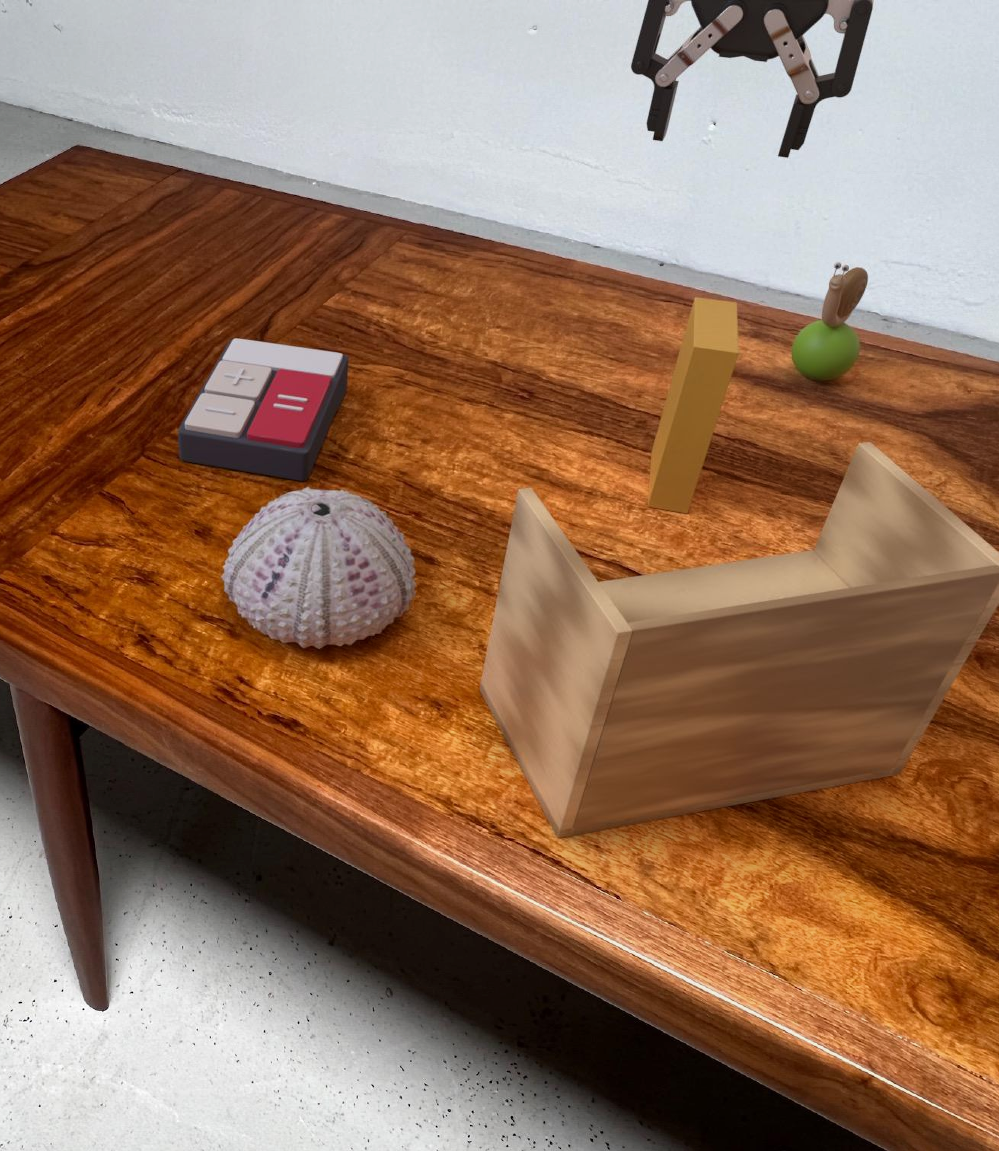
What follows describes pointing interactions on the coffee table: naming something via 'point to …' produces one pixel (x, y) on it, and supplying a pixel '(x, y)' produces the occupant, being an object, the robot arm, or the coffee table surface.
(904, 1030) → the coffee table surface
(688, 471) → the mustard yellow pillar block
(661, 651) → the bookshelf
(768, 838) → the coffee table surface
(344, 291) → the coffee table surface
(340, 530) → the sea urchin shell
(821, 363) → the snail figurine
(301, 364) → the calculator
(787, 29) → the robot arm
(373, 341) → the coffee table surface
